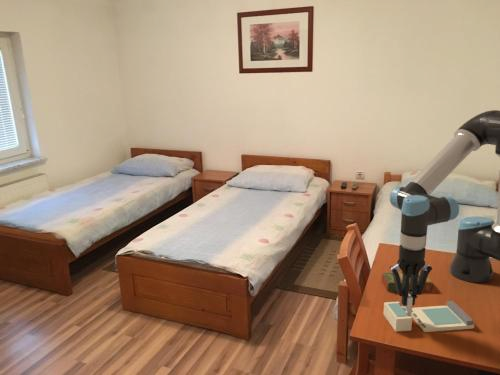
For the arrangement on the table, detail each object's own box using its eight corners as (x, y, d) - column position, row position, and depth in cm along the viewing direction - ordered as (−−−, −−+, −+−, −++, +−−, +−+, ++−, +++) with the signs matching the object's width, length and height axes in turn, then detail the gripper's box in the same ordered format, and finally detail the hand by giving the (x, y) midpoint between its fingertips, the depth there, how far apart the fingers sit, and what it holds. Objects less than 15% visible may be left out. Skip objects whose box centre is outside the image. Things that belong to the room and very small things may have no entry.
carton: (431, 292, 157) (432, 281, 156) (387, 292, 157) (388, 282, 156) (423, 281, 165) (424, 271, 164) (381, 282, 165) (381, 271, 164)
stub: (397, 313, 143) (398, 301, 142) (411, 330, 133) (412, 317, 132) (383, 314, 143) (384, 302, 141) (395, 331, 133) (396, 318, 132)
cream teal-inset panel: (453, 308, 145) (454, 300, 145) (473, 328, 134) (474, 320, 133) (407, 311, 144) (408, 303, 144) (424, 332, 133) (425, 324, 132)
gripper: (427, 239, 135) (421, 306, 142) (387, 242, 134) (383, 309, 141) (439, 249, 128) (432, 319, 134) (397, 251, 127) (392, 321, 133)
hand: (407, 313), depth 137 cm, fingers closed
